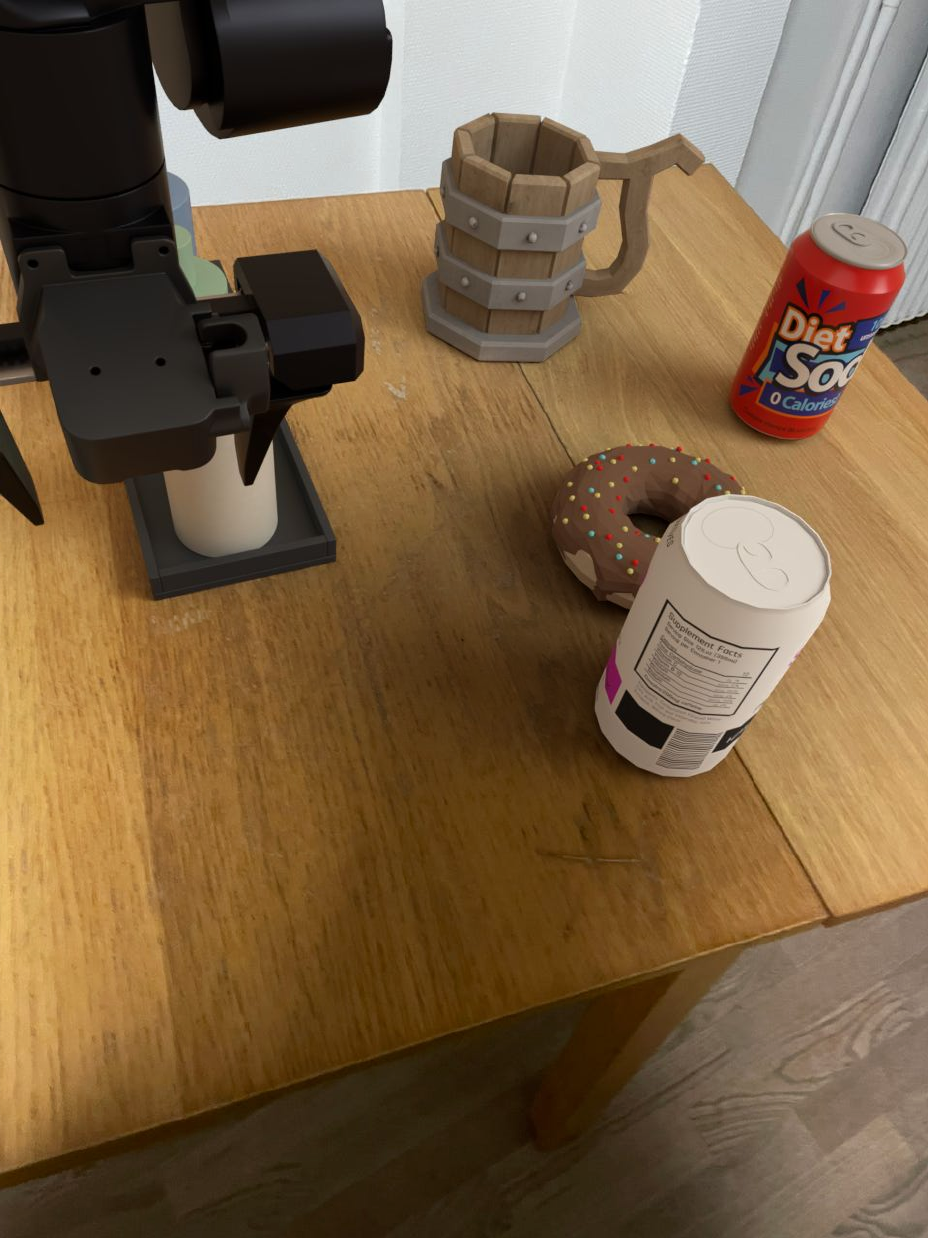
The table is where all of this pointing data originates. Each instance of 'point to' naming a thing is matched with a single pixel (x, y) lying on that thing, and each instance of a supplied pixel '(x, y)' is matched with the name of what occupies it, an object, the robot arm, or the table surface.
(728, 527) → the supplement can
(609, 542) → the donut
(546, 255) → the tankard
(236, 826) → the table surface
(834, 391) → the soda can
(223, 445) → the cream bottle
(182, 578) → the tray
